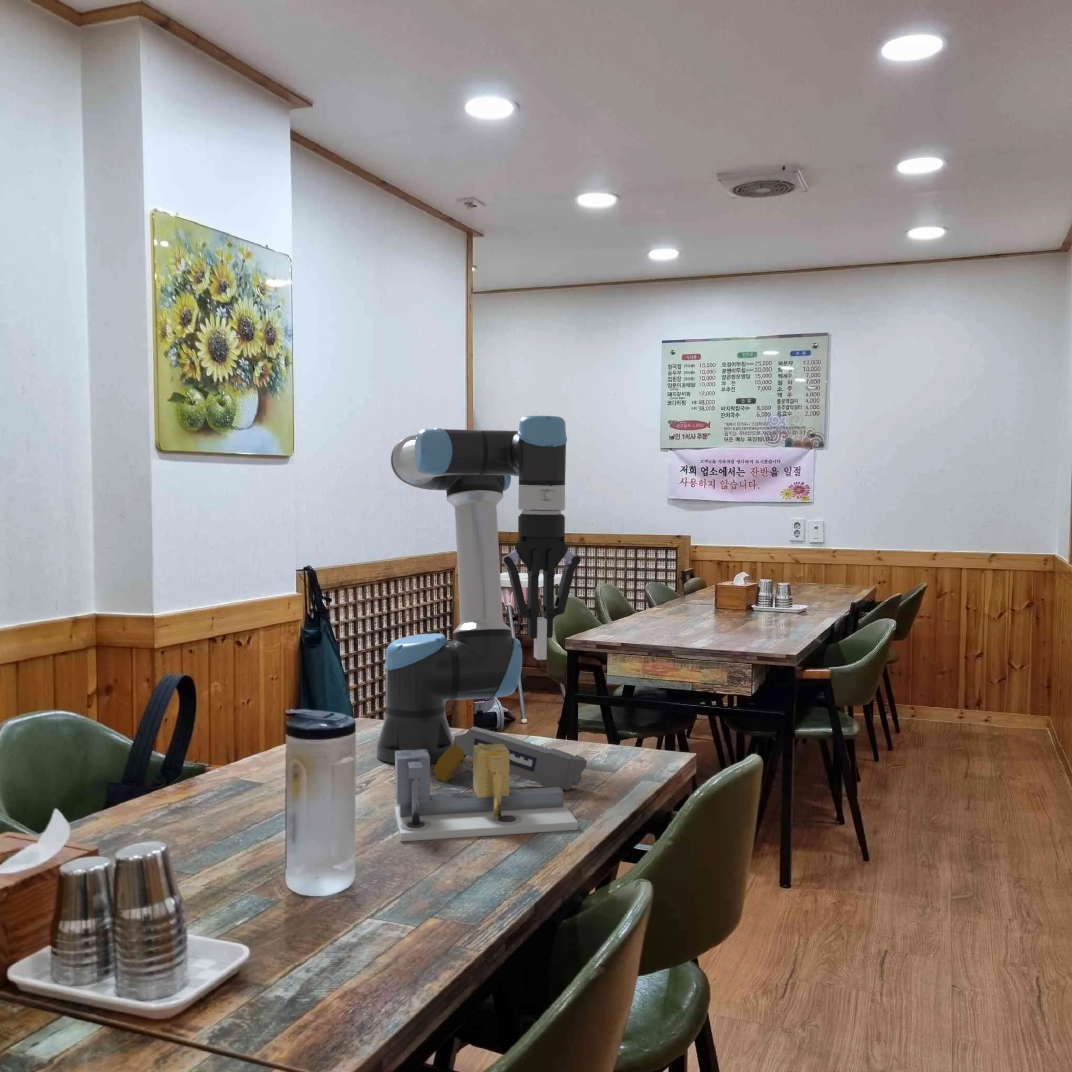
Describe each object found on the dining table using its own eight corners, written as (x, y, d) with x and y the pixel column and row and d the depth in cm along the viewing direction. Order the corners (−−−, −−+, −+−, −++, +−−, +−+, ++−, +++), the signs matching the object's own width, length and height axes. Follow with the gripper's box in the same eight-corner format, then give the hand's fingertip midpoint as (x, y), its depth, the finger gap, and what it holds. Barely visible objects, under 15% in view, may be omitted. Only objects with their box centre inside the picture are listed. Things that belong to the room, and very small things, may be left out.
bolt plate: (394, 813, 161) (394, 805, 161) (558, 804, 167) (558, 795, 167) (400, 841, 148) (400, 832, 148) (577, 829, 154) (578, 820, 154)
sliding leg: (473, 800, 162) (473, 745, 162) (503, 798, 163) (503, 743, 163) (481, 818, 153) (481, 759, 153) (513, 816, 154) (514, 758, 154)
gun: (553, 840, 174) (586, 763, 172) (428, 778, 179) (458, 702, 177) (557, 834, 177) (589, 759, 175) (434, 773, 182) (464, 699, 180)
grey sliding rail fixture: (395, 809, 160) (395, 750, 159) (557, 799, 165) (558, 743, 165) (399, 828, 151) (399, 766, 150) (571, 817, 156) (571, 757, 156)
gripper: (506, 513, 156) (505, 663, 158) (587, 513, 159) (585, 661, 161) (497, 511, 164) (496, 655, 165) (574, 511, 167) (572, 652, 168)
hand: (540, 658), depth 163 cm, fingers closed
